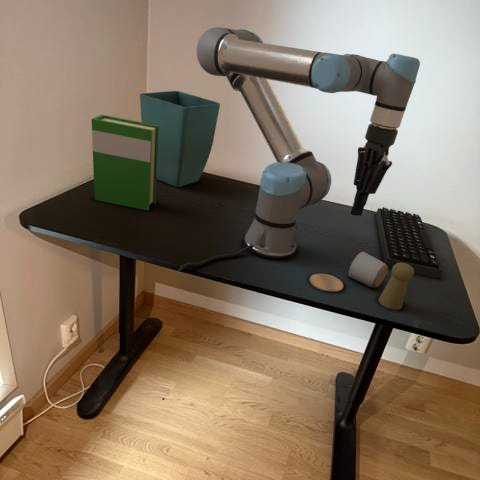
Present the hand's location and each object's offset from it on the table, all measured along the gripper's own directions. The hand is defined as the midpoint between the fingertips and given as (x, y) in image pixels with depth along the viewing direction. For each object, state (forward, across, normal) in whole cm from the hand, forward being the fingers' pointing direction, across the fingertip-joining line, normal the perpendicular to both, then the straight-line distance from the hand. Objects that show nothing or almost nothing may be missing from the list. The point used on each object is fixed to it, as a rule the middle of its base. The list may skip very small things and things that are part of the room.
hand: (355, 214), depth 126 cm
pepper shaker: (+14, -25, 0) cm, 28 cm away
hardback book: (+15, +41, +58) cm, 72 cm away
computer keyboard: (+14, +9, -29) cm, 34 cm away
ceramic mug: (+14, -13, 0) cm, 19 cm away
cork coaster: (+14, -14, +13) cm, 23 cm away
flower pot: (+15, +63, +37) cm, 75 cm away
